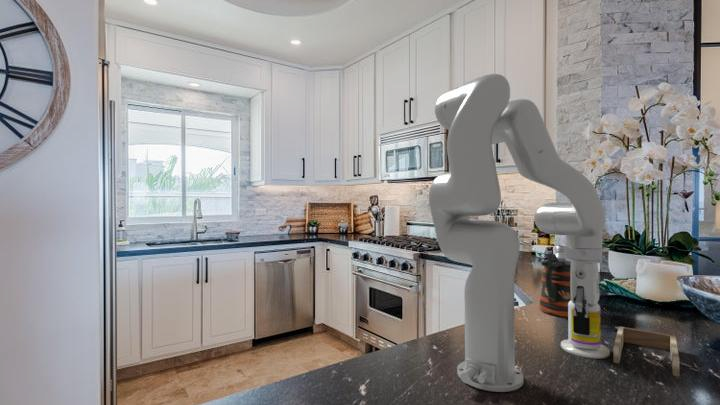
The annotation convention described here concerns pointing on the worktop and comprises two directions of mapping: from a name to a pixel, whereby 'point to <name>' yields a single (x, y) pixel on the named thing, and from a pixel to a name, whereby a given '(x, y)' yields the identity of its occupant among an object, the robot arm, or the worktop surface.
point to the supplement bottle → (595, 328)
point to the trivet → (585, 351)
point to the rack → (647, 343)
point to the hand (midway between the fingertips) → (583, 329)
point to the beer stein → (555, 286)
